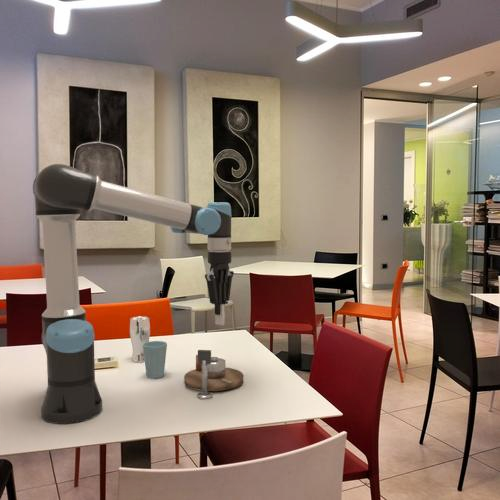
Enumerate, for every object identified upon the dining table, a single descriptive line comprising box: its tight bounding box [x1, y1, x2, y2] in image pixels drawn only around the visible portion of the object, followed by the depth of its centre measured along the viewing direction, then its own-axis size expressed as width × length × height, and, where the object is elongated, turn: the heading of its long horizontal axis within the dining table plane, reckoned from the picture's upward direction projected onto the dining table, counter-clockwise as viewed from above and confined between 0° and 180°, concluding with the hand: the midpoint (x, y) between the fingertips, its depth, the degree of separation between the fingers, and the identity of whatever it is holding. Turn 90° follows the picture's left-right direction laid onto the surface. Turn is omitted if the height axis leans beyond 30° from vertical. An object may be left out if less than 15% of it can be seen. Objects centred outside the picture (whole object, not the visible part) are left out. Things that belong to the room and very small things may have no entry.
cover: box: [207, 356, 227, 379], centre depth 158 cm, size 7×7×6 cm
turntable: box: [183, 354, 244, 392], centre depth 158 cm, size 18×18×6 cm
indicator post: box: [196, 349, 213, 401], centre depth 146 cm, size 4×4×13 cm
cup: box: [143, 340, 168, 379], centre depth 165 cm, size 8×8×10 cm
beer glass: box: [129, 316, 151, 363], centre depth 183 cm, size 7×7×15 cm
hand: (219, 324), depth 166 cm, fingers closed
